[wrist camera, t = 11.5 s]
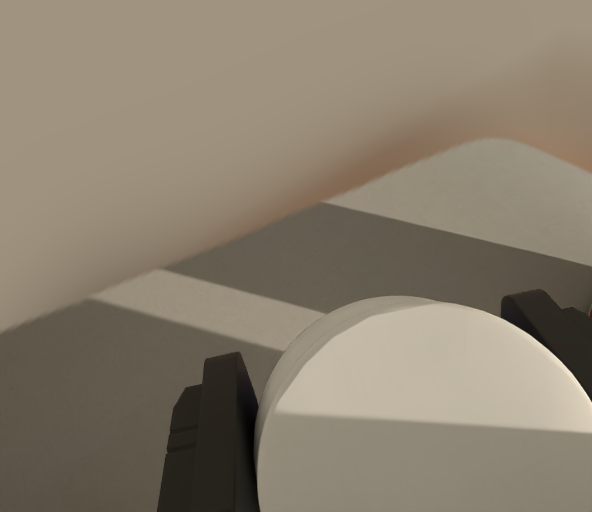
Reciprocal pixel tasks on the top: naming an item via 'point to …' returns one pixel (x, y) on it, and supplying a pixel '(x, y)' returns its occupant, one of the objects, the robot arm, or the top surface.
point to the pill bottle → (421, 416)
